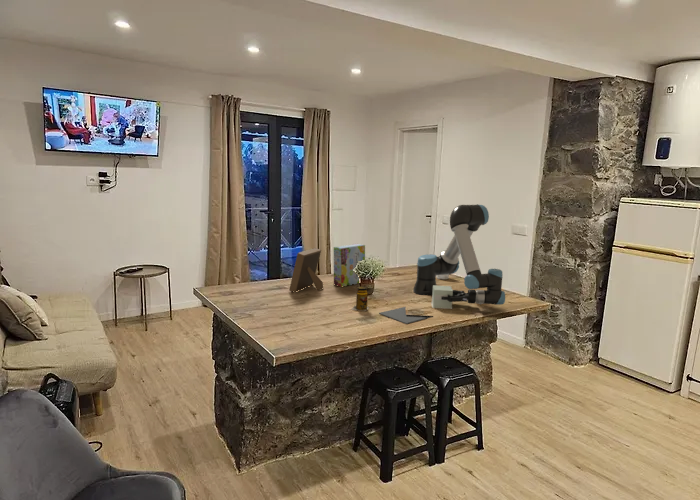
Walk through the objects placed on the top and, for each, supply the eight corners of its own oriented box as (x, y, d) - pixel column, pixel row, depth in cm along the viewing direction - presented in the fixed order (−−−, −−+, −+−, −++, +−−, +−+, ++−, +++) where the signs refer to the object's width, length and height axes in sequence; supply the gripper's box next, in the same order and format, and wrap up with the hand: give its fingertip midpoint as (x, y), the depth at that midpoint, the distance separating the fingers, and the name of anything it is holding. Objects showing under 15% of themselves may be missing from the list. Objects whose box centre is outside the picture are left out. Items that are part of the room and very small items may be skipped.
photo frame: (289, 292, 283) (289, 251, 278) (307, 284, 302) (307, 246, 298) (310, 295, 277) (311, 254, 272) (327, 287, 296) (328, 249, 292)
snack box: (356, 280, 318) (357, 243, 313) (365, 282, 311) (366, 244, 307) (332, 285, 303) (333, 246, 299) (341, 287, 297) (342, 248, 292)
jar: (441, 280, 324) (442, 263, 322) (433, 277, 331) (434, 261, 329) (451, 278, 329) (452, 262, 327) (442, 276, 336) (443, 260, 334)
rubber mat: (378, 313, 244) (379, 312, 244) (405, 307, 256) (405, 306, 256) (406, 324, 229) (406, 322, 228) (433, 316, 241) (433, 315, 241)
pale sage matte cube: (433, 307, 252) (434, 289, 251) (431, 302, 262) (432, 285, 260) (451, 308, 251) (452, 290, 250) (449, 303, 261) (450, 286, 259)
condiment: (365, 311, 248) (366, 289, 246) (350, 309, 250) (351, 288, 248) (369, 307, 255) (370, 286, 253) (354, 306, 257) (355, 285, 255)
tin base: (432, 310, 252) (432, 300, 251) (430, 304, 263) (431, 295, 262) (452, 311, 251) (453, 301, 250) (450, 305, 262) (451, 296, 261)
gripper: (478, 309, 243) (435, 307, 246) (471, 297, 266) (432, 295, 268) (479, 295, 242) (436, 293, 244) (472, 285, 264) (433, 283, 267)
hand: (434, 294), depth 256 cm, fingers closed on pale sage matte cube, 10 cm apart
